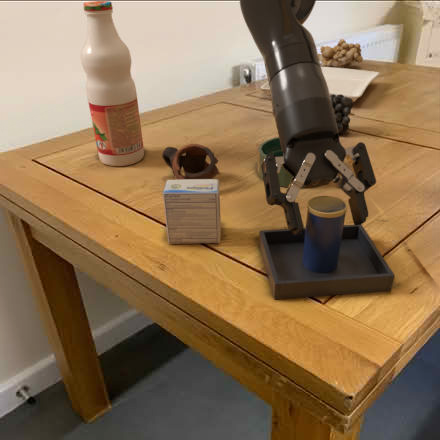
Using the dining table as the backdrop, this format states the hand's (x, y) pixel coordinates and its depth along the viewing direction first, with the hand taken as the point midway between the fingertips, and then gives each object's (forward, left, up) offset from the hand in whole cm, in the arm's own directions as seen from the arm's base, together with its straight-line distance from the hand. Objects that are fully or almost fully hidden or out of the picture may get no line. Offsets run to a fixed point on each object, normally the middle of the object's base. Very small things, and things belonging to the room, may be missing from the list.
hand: (330, 228), depth 60 cm
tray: (0, -1, -7) cm, 7 cm away
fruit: (-13, -54, -7) cm, 56 cm away
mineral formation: (-36, -115, -7) cm, 121 cm away
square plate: (-22, -87, -7) cm, 90 cm away
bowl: (-3, -32, -7) cm, 33 cm away
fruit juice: (+31, -45, -7) cm, 56 cm away
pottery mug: (+17, -31, -7) cm, 36 cm away
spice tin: (0, -1, -6) cm, 6 cm away
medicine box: (+17, -11, -7) cm, 22 cm away
